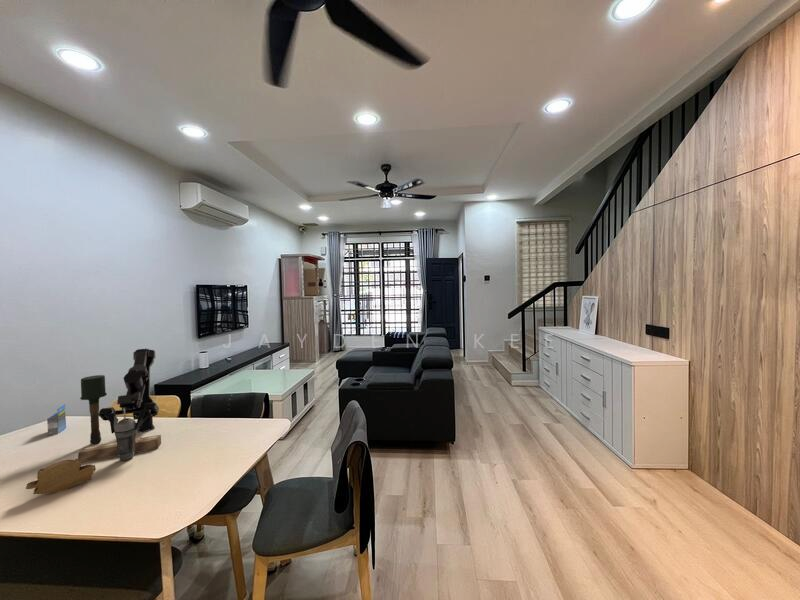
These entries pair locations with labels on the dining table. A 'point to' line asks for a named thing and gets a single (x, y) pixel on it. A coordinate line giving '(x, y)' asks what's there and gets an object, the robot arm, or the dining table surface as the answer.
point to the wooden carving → (61, 476)
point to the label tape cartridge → (57, 421)
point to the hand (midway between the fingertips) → (124, 431)
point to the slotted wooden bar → (112, 448)
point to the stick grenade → (93, 402)
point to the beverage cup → (125, 437)
